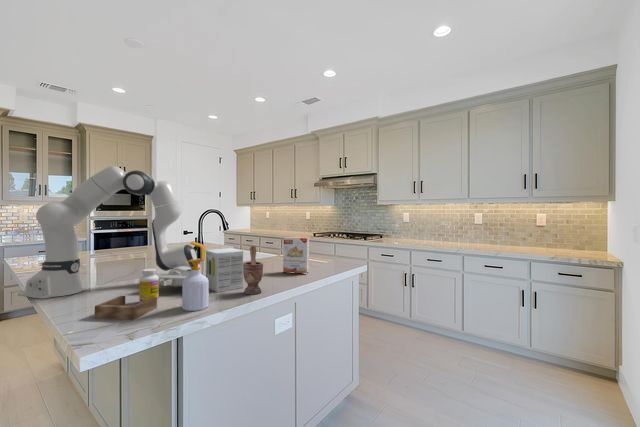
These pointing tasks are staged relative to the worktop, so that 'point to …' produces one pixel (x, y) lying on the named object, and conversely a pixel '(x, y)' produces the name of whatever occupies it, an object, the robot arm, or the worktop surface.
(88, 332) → the worktop surface
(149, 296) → the supplement bottle
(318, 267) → the worktop surface
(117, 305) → the corral
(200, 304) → the soap bottle
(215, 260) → the supplement box
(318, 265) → the worktop surface
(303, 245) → the cracker box
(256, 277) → the mortar and pestle
